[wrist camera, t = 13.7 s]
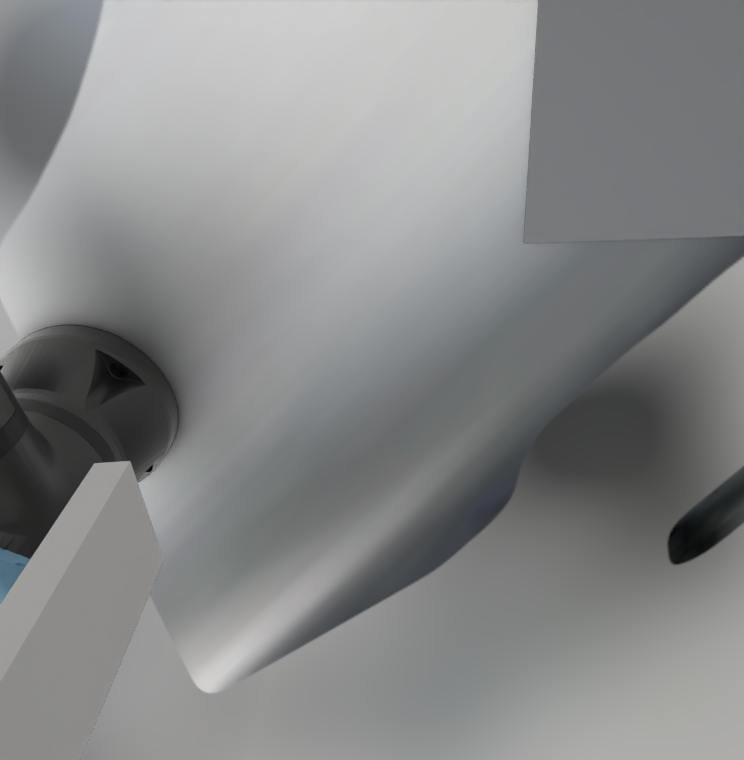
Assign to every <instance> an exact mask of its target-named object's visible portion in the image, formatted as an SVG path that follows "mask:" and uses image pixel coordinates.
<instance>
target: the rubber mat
mask: <svg viewBox="0 0 744 760" xmlns="http://www.w3.org/2000/svg"><path fill="white" fill-rule="evenodd" d="M726 236H744V0H538V15H537V31H536V47H535V63H534V79H533V95H532V111H531V127H530V143H529V160H528V176H527V192H526V208H525V224H524V240H523V242H524V244H531V243H559V242H586V241H614V240H642V239H670V238H698V237H726Z"/></svg>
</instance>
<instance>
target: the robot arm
mask: <svg viewBox="0 0 744 760" xmlns="http://www.w3.org/2000/svg"><path fill="white" fill-rule="evenodd" d="M177 426H178V411H177V405H176V401H175V397H174V395H173V392H172V390H171V387H170V385H169V384H168V382H167V380H166V379H165V377H164V375H163V374H162V373H161V371H160V370H159V369H158V368H157V366H156V365H155V364H154V363H153V362H152V361H151V360H150V359H149V358H148V357H147V356H146V355H145V354H143V353H142V352H141V351H140V350H138V349H137V348H136V347H134V346H133V345H131V344H130V343H128V342H126V341H125V340H123V339H121V338H119V337H117V336H115V335H112V334H110V333H107V332H105V331H102V330H98V329H95V328H90V327H85V326H76V325H61V326H53V327H48V328H44V329H41V330H39V331H36V332H34V333H32V334H30V335H28V336H27V337H25V338H24V339H22V340H21V341H20V342H19V343H18V344H16V345H15V346H14V347H13V348H12V349H11V350H10V351H8V352H7V353H6V354H5V355H4V356H3V358H2V359H1V360H0V760H81V758H82V756H83V753H84V751H85V748H86V746H87V744H88V741H89V739H90V737H91V734H92V732H93V729H94V727H95V724H96V722H97V720H98V717H99V715H100V713H101V710H102V708H103V705H104V703H105V701H106V698H107V696H108V693H109V691H110V689H111V686H112V683H113V681H114V679H115V676H116V674H117V672H118V669H119V667H120V665H121V662H122V660H123V657H124V655H125V653H126V650H127V648H128V645H129V643H130V641H131V638H132V635H133V633H134V631H135V628H136V626H137V624H138V621H139V619H140V617H141V614H142V612H143V609H144V607H145V604H146V602H147V600H148V597H149V595H150V593H151V590H152V588H153V585H154V583H155V581H156V578H157V576H158V573H159V571H160V569H161V566H162V564H163V561H164V558H163V555H162V552H161V549H160V546H159V543H158V540H157V538H156V535H155V532H154V529H153V526H152V523H151V520H150V517H149V514H148V511H147V508H146V505H145V503H144V500H143V497H142V494H141V491H140V488H139V485H138V482H140V481H141V480H143V479H144V478H146V477H147V476H148V475H150V474H151V473H152V472H153V471H154V470H155V469H156V468H157V467H158V466H159V464H160V463H161V462H162V460H163V459H164V457H165V455H166V454H167V452H168V450H169V448H170V446H171V445H172V443H173V441H174V438H175V435H176V432H177Z"/></svg>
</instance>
